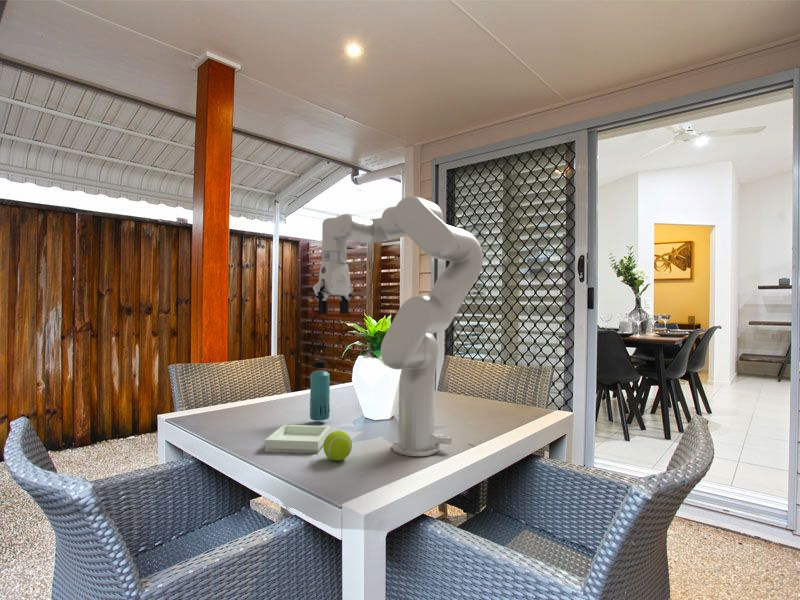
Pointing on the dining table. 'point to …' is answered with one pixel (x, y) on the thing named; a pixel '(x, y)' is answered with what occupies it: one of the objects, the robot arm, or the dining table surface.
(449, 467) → the dining table surface
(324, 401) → the beverage bottle
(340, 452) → the tennis ball
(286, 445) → the tray
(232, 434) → the dining table surface
